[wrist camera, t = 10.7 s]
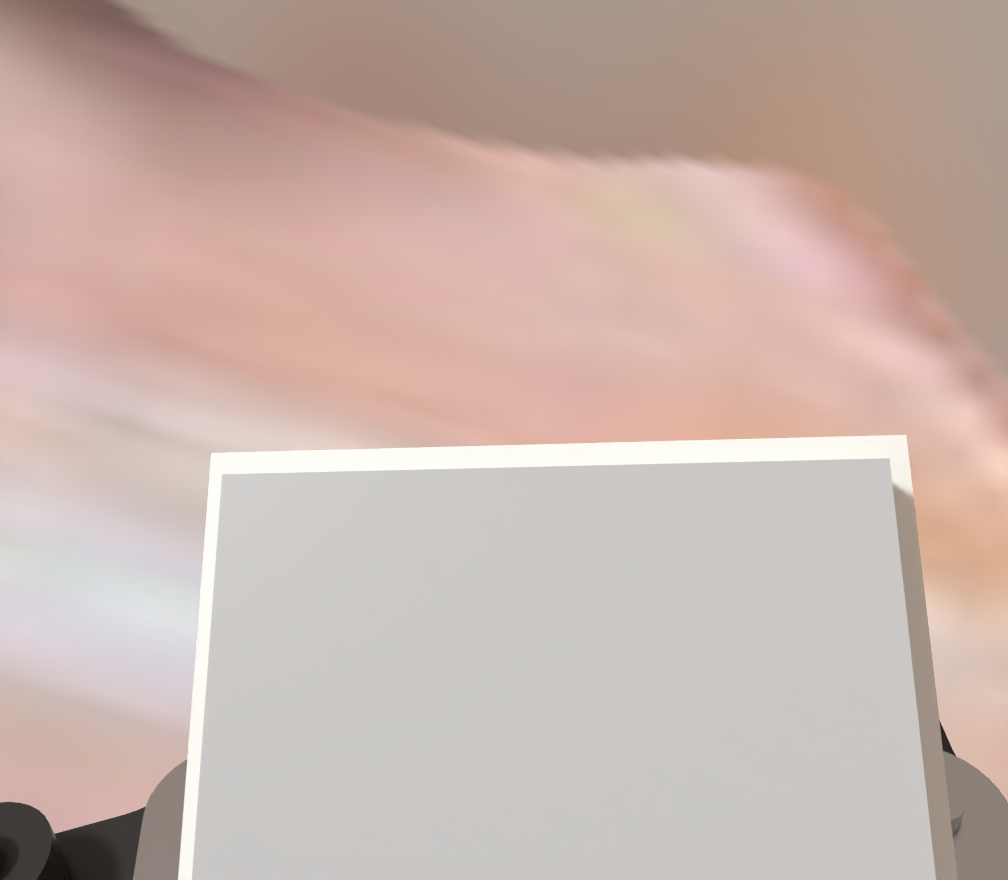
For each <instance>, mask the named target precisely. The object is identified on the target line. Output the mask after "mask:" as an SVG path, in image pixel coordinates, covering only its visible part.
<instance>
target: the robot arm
mask: <svg viewBox="0 0 1008 880" xmlns="http://www.w3.org/2000/svg"><path fill="white" fill-rule="evenodd" d="M939 722H940V720H939ZM940 731H941V739H942V748H943V757H944V765H945V774H946V783H947V791H948V800H949V809H950V817H951V826H952V834H953V843H954V852H955V860H956V869H957V878H958V880H1008V803H1007V801H1006V799H1005V798H1004V796H1003V795H1002V793H1001V792H1000V790H999V789H998V788H997V787H996V786H995V785H994V784H993V783H992V782H991V780H990V779H989V778H987V777H986V776H985V775H984V774H983V773H981V772H980V771H979V770H978V769H976V768H975V767H973V766H972V765H970V764H969V763H967V762H966V761H964V760H962V759H960V758H958V757H956V755H955V753H954V752H953V750H952V748H951V745H950V743H949V741H948V739H947V736H946V734H945V732H944V729H943V727H942V725H941V723H940ZM186 771H187V760H185V761H184V762H182V763H181V764H180V765H178V766H177V767H175V768H174V769H173V770H172V771H171V772H170V773H169V774H167V775H166V776H165V778H164V779H163V780H162V781H161V782H160V783H159V784H158V786H157V787H156V789H155V790H154V792H153V793H152V795H151V796H150V798H149V801H148V803H147V805H146V807H144V808H141V809H139V810H137V811H134V812H131V813H128V814H125V815H122V816H118V817H115V818H111V819H107V820H104V821H100V822H96V823H93V824H89V825H85V826H82V827H78V828H74V829H71V830H67V831H63V832H60V833H56V834H54V832H53V830H52V828H51V826H50V824H49V822H48V821H47V819H46V817H45V816H44V815H43V814H42V813H41V812H40V811H39V810H37V809H35V808H33V807H32V806H30V805H26V804H22V803H15V802H2V803H0V880H178V873H179V860H180V848H181V835H182V822H183V809H184V796H185V784H186Z"/></svg>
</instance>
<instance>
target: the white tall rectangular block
mask: <svg viewBox="0 0 1008 880" xmlns="http://www.w3.org/2000/svg"><path fill="white" fill-rule="evenodd" d="M178 880H958V878H957V869H956V860H955V852H954V843H953V834H952V826H951V817H950V809H949V800H948V791H947V783H946V774H945V765H944V757H943V748H942V739H941V731H940V722H939V714H938V705H937V696H936V688H935V679H934V670H933V662H932V653H931V645H930V636H929V627H928V619H927V610H926V601H925V593H924V584H923V575H922V567H921V558H920V550H919V541H918V532H917V524H916V515H915V506H914V498H913V489H912V481H911V472H910V463H909V455H908V446H907V437H906V435H886V436H847V437H809V438H770V439H732V440H693V441H655V442H616V443H578V444H539V445H501V446H463V447H424V448H386V449H347V450H309V451H270V452H232V453H211V463H210V476H209V489H208V502H207V514H206V527H205V540H204V553H203V566H202V579H201V591H200V604H199V617H198V630H197V643H196V655H195V668H194V681H193V694H192V707H191V719H190V732H189V745H188V758H187V771H186V784H185V796H184V809H183V822H182V835H181V848H180V860H179V873H178Z"/></svg>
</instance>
